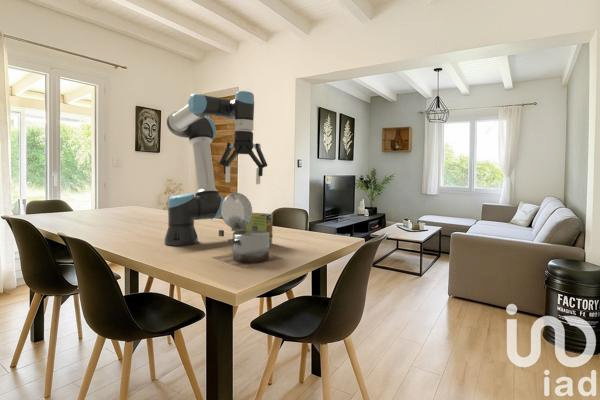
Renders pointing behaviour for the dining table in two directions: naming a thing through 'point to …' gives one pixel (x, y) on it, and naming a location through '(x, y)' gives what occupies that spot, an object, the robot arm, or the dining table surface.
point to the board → (229, 259)
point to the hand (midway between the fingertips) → (242, 183)
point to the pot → (250, 245)
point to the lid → (236, 211)
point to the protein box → (261, 223)
